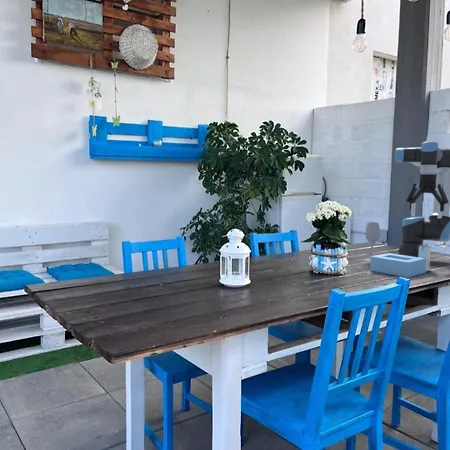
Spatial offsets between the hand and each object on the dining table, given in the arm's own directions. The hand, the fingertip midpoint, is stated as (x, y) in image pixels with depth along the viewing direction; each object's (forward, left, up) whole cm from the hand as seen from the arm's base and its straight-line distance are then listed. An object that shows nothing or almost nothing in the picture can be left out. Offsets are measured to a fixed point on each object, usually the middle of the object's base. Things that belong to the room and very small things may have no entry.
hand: (426, 217), depth 231 cm
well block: (+14, -6, -26) cm, 30 cm away
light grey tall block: (0, 0, -26) cm, 26 cm away
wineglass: (-2, -31, -27) cm, 41 cm away
